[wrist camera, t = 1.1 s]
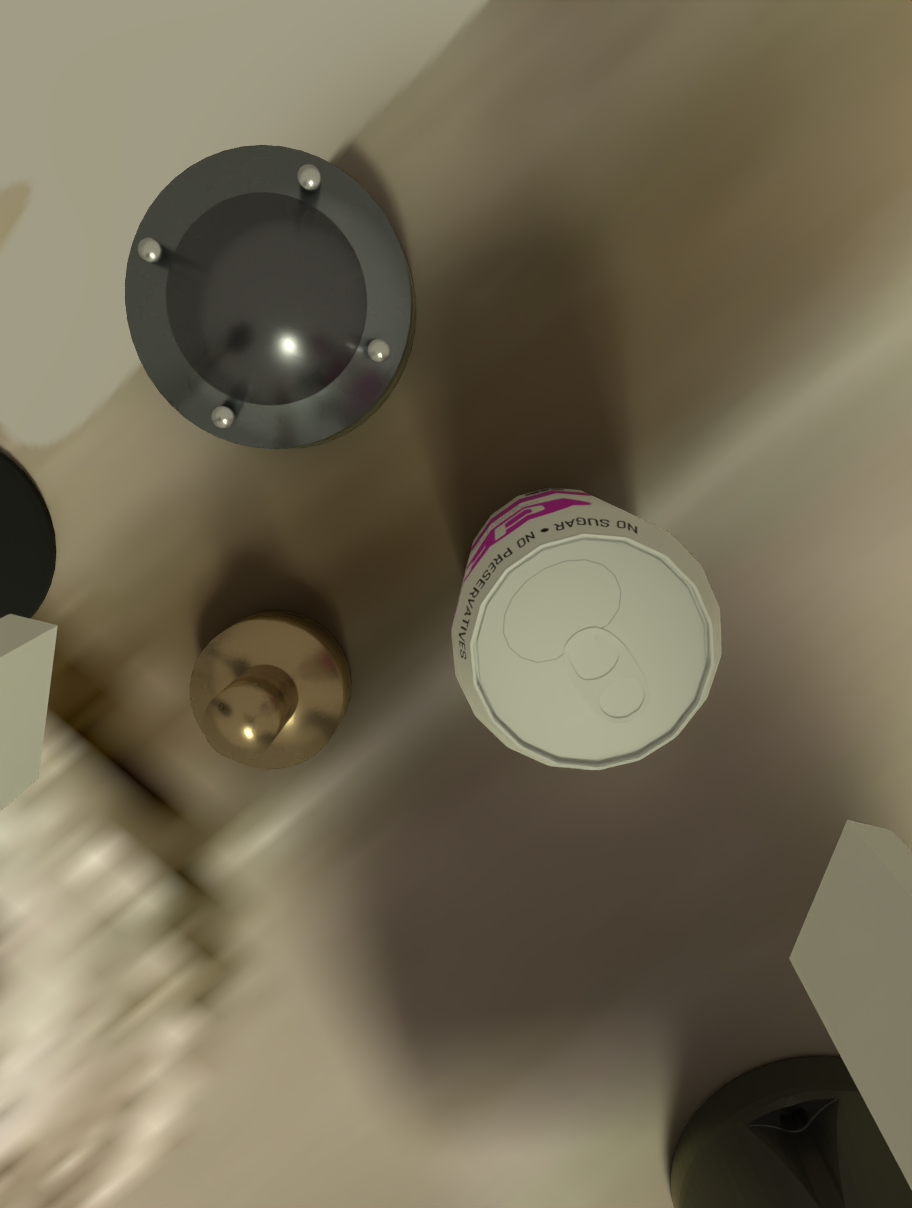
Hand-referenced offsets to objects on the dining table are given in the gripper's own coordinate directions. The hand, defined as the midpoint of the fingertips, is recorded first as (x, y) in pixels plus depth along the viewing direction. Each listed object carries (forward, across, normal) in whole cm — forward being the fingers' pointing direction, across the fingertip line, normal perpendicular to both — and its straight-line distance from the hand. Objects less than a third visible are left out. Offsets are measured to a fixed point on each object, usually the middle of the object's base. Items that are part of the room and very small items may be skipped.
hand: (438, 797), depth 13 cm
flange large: (+26, +10, -7) cm, 29 cm away
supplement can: (+26, -4, +1) cm, 26 cm away
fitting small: (+25, +7, +9) cm, 28 cm away
